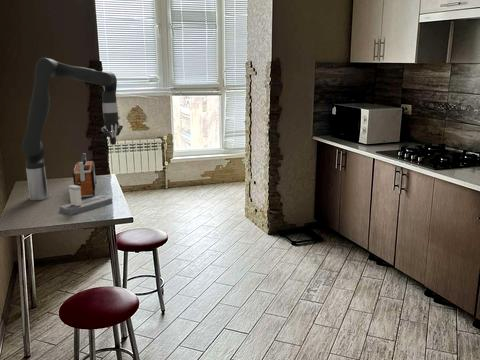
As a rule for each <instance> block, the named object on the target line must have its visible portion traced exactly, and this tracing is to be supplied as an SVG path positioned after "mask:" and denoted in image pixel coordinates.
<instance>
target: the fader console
mask: <svg viewBox="0 0 480 360" xmlns="http://www.w3.org/2000/svg"><path fill="white" fill-rule="evenodd" d="M81 200H82V205H79V206H75V205H71V202H70V203H67V204H63V205H59V212H60V213H64V214H66V215H69V214H70V216H73V215H76V213H77V214H79V213H82V212H83V213H84V212H86V211H90V210H94V209H96V208H100V207H103V206H106V205H110V204H113V198H112V197H109V196H104V195H101V194H100V195H97V196H93V197H89V198H86V199H85V198H84V199H81Z"/></svg>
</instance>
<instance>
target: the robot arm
mask: <svg viewBox="0 0 480 360" xmlns="http://www.w3.org/2000/svg"><path fill="white" fill-rule="evenodd" d="M54 77H57V78H58V77H59V78H61V77H62V78H69V79H72V80H75V81H80V82H85V83H90V84H94V85H98V86H101V87H103V91H102V93H101V99H102V116H103V117H102V118H103V121H104V123H103V127H100V131H101V132H102V134H104V135H105V137H107V138H109V143H110V145H112V146H114V145H116V143H117V137H118V136H120V134H121V131H122V130H123V128H124V126H123V125H121V124H120V122H119V109H118V108H119V107H118V103H117V86H118V85H117V84H118V81H117V77H116V74H115V73H114V72H112V71H100V70H99V71H98V70H96V69H94V68H88V67H83V66H74V65H69V64H65V63H62V62H59V61H56V60H55V59H52V58H47V57H41V58H39V59H38V60H37V62H36V64H35V72H34V80H33V81H34V83H33V88H32V94H31V99H30V103H29V108H28V115H27V122H26V123H27V125H26V131H25V135H24V138H23V140H22V144H21V151H22V152H23V154H24V155H25V172H26V178H27V186H28V195H29V200H30V201H43V200H46V199H48V198H49V191H48V190H49V189H48V182H47V174H46V165H45V159H46V158H45V151H44V144H43V142H42V133H43V130H44V127H45V124H46V122H47V119H48V117H49V116H48V115H49V112H50V106H51V99H50V93H49V92H50V91H49V84H50V80H51V78H54Z"/></svg>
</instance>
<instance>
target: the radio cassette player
mask: <svg viewBox="0 0 480 360" xmlns="http://www.w3.org/2000/svg"><path fill="white" fill-rule="evenodd" d="M96 173H97V172H96V165H95V161H93V160H90V161H89V160H88V161H87V154H86V153H85V152H84V153H82V155H81V158H80V161H78V162H76V163H75V166H74V169H73V171H72V178H73V185H77V186H81V189H80V191H81V198H87V197H89V198H92V197H96V196H95V195H96V192H95V190H96V185H97V175H96Z"/></svg>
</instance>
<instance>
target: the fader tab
mask: <svg viewBox="0 0 480 360" xmlns="http://www.w3.org/2000/svg"><path fill="white" fill-rule="evenodd" d="M80 189H81V186H77V185H74V184H70V185H68V190H69V192H68V193H69V199H70V200H69V201H70V203H71V205H75V206H79V205H82V200H83V199H82V197H81V191H80Z"/></svg>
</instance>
